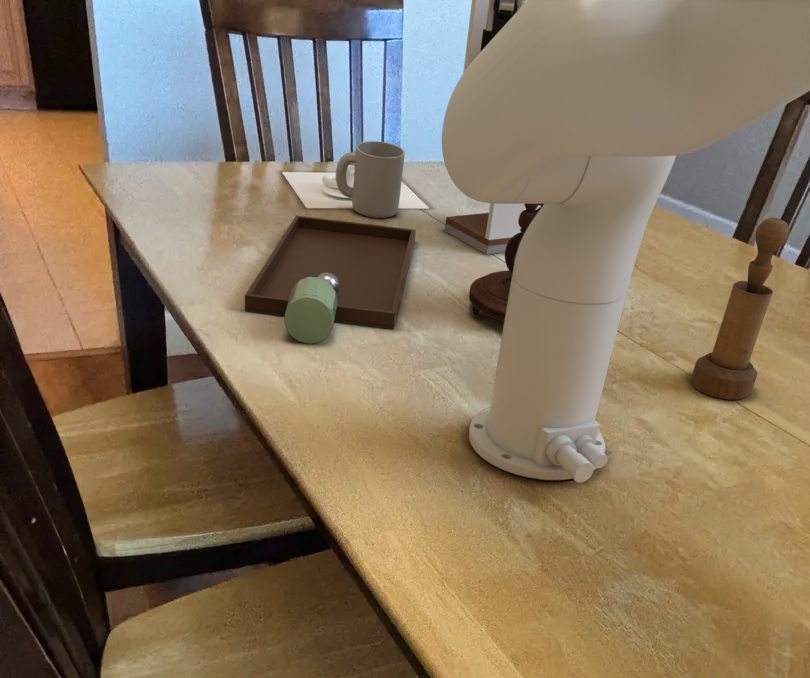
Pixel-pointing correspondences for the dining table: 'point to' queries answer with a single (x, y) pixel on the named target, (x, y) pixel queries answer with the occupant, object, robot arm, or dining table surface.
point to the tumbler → (311, 310)
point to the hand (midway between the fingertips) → (494, 81)
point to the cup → (373, 178)
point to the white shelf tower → (502, 219)
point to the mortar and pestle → (741, 323)
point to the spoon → (331, 280)
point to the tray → (338, 268)
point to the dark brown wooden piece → (500, 275)
